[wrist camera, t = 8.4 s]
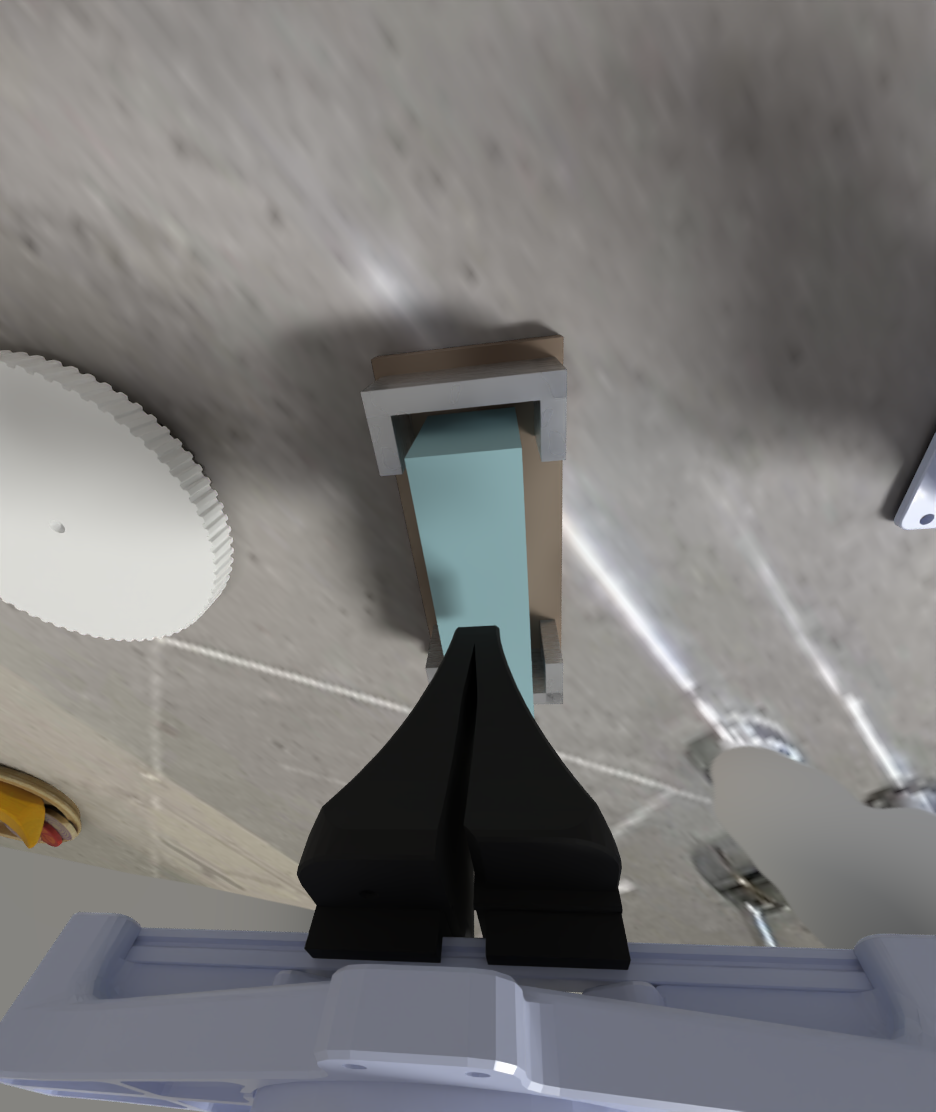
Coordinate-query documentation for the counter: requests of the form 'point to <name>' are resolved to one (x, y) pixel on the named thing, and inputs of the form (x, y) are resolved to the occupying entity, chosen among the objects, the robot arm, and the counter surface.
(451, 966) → the robot arm
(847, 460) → the counter surface
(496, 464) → the teal rectangular block
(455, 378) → the end caps
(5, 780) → the toy sandwich meal
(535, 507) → the end cap board
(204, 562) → the plastic lid
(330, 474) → the counter surface
